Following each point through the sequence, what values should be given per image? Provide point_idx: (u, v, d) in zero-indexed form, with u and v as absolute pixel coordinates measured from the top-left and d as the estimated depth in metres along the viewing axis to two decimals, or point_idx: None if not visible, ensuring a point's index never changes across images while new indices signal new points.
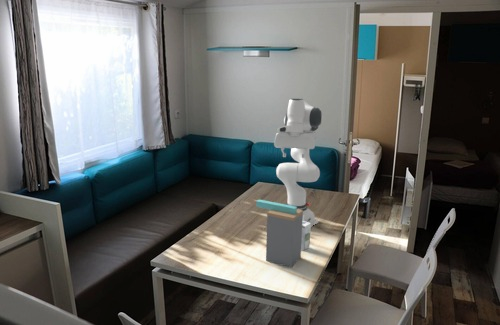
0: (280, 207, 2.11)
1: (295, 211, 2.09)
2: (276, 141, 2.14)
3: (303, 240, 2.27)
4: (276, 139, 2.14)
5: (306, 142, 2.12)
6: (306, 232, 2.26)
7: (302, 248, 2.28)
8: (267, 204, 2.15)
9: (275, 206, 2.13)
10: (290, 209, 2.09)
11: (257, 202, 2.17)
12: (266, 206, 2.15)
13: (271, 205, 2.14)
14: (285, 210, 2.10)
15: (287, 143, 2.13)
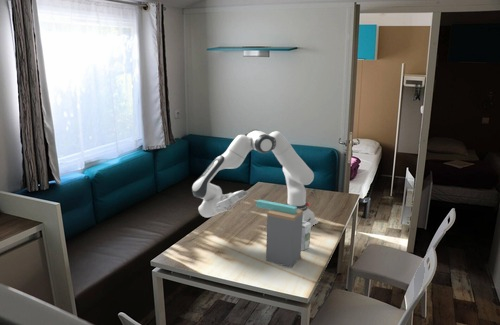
0: (280, 207, 2.11)
1: (295, 211, 2.09)
2: (242, 197, 2.33)
3: (303, 240, 2.27)
4: (241, 198, 2.34)
5: None
6: (306, 232, 2.26)
7: (302, 248, 2.28)
8: (267, 204, 2.15)
9: (275, 206, 2.13)
10: (290, 209, 2.09)
11: (257, 202, 2.17)
12: (266, 206, 2.15)
13: (271, 205, 2.14)
14: (285, 210, 2.10)
15: (238, 199, 2.28)
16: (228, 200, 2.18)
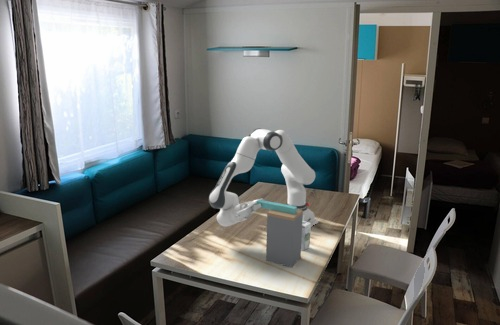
0: (280, 207, 2.11)
1: (295, 211, 2.09)
2: None
3: (303, 240, 2.27)
4: None
5: None
6: (306, 232, 2.26)
7: (302, 248, 2.28)
8: (267, 204, 2.15)
9: (275, 206, 2.13)
10: (290, 209, 2.09)
11: (257, 202, 2.17)
12: (266, 206, 2.15)
13: (271, 205, 2.14)
14: (285, 210, 2.10)
15: None
16: (248, 209, 2.13)
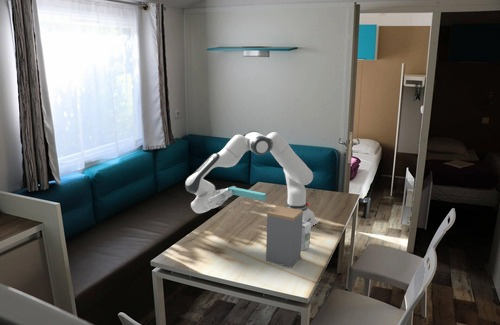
0: (250, 194, 2.18)
1: (264, 198, 2.16)
2: None
3: (303, 240, 2.27)
4: None
5: None
6: (306, 232, 2.26)
7: (302, 248, 2.28)
8: (238, 191, 2.21)
9: (245, 193, 2.19)
10: (259, 196, 2.16)
11: (228, 189, 2.24)
12: (237, 193, 2.22)
13: (242, 192, 2.20)
14: (255, 197, 2.17)
15: None
16: (219, 196, 2.20)
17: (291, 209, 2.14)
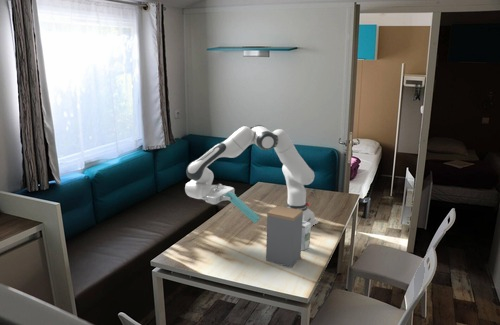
0: (246, 211, 2.22)
1: (257, 221, 2.21)
2: None
3: (303, 240, 2.27)
4: None
5: None
6: (306, 232, 2.26)
7: (302, 248, 2.28)
8: (236, 201, 2.23)
9: (242, 207, 2.22)
10: (253, 217, 2.20)
11: (228, 194, 2.25)
12: (234, 202, 2.24)
13: (239, 204, 2.23)
14: (249, 216, 2.21)
15: None
16: (217, 199, 2.21)
17: (291, 209, 2.14)
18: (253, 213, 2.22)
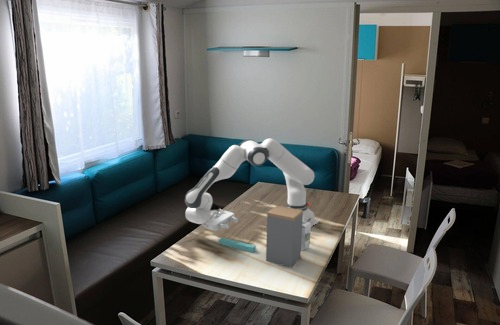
0: (240, 246, 2.28)
1: (254, 250, 2.26)
2: None
3: (303, 240, 2.27)
4: None
5: None
6: (306, 232, 2.26)
7: (302, 248, 2.28)
8: (229, 243, 2.31)
9: (236, 245, 2.30)
10: (249, 248, 2.26)
11: (220, 240, 2.34)
12: (228, 244, 2.32)
13: (232, 244, 2.31)
14: (245, 249, 2.27)
15: None
16: (218, 225, 2.25)
17: (291, 209, 2.14)
18: (247, 245, 2.28)
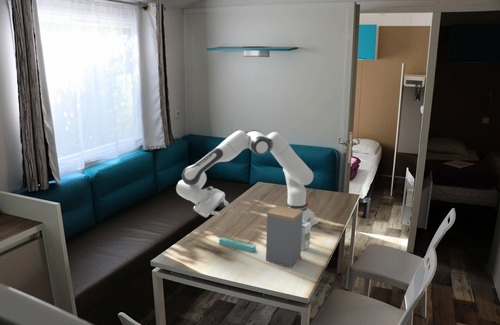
0: (240, 246, 2.28)
1: (254, 250, 2.26)
2: None
3: (303, 240, 2.27)
4: None
5: None
6: (306, 232, 2.26)
7: (302, 248, 2.28)
8: (229, 243, 2.32)
9: (236, 245, 2.30)
10: (249, 248, 2.26)
11: (220, 240, 2.34)
12: (228, 244, 2.32)
13: (232, 244, 2.31)
14: (245, 249, 2.27)
15: None
16: (209, 212, 2.27)
17: (291, 209, 2.14)
18: (247, 245, 2.28)
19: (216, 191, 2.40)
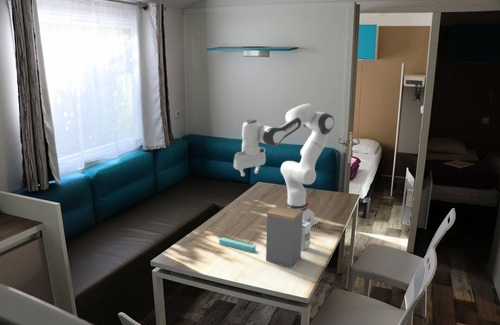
0: (240, 246, 2.28)
1: (254, 250, 2.26)
2: None
3: (303, 240, 2.27)
4: None
5: None
6: (306, 232, 2.26)
7: (302, 248, 2.28)
8: (229, 242, 2.32)
9: (236, 245, 2.30)
10: (249, 248, 2.26)
11: (220, 240, 2.34)
12: (228, 244, 2.32)
13: (232, 244, 2.31)
14: (245, 249, 2.27)
15: None
16: None
17: (291, 209, 2.14)
18: (247, 245, 2.28)
19: (263, 156, 2.36)
